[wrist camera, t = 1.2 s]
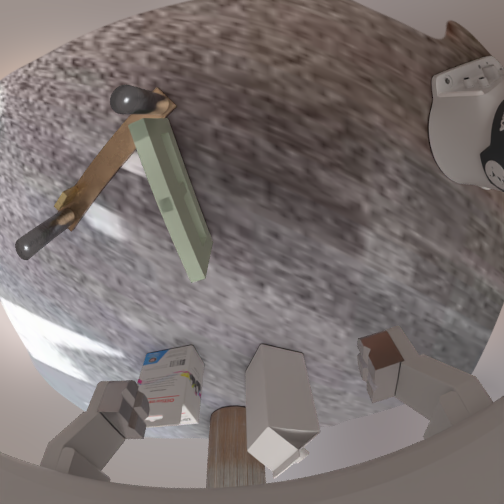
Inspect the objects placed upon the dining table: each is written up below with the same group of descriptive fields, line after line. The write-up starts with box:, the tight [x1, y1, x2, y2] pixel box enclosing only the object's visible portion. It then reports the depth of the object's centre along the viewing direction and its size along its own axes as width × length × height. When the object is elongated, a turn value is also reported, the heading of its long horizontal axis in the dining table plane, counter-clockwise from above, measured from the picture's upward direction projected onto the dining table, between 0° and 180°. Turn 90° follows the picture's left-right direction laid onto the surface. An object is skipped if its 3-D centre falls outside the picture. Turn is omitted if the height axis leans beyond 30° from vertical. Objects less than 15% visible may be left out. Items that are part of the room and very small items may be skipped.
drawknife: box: [15, 85, 177, 260], centre depth 26 cm, size 21×3×11 cm, turn 132°
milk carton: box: [245, 344, 320, 478], centre depth 37 cm, size 7×7×19 cm
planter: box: [206, 406, 266, 488], centre depth 42 cm, size 10×10×23 cm
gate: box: [128, 118, 213, 283], centre depth 28 cm, size 15×1×8 cm, turn 17°
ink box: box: [137, 345, 204, 427], centre depth 38 cm, size 8×5×15 cm, turn 107°
